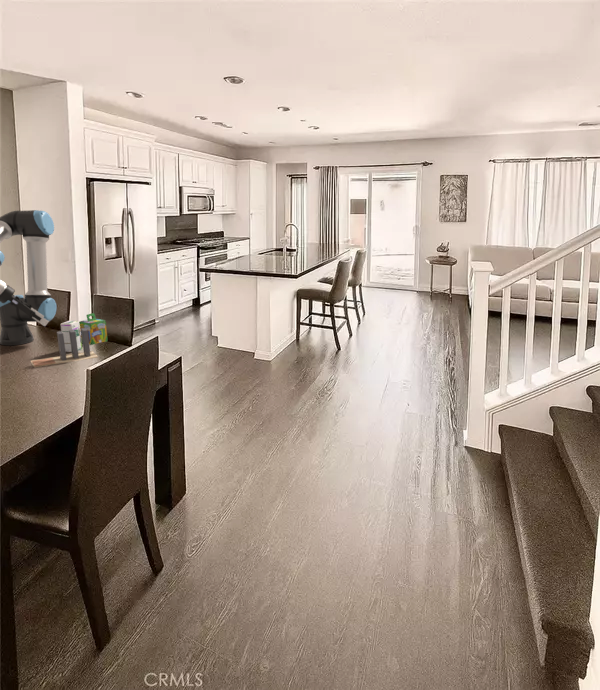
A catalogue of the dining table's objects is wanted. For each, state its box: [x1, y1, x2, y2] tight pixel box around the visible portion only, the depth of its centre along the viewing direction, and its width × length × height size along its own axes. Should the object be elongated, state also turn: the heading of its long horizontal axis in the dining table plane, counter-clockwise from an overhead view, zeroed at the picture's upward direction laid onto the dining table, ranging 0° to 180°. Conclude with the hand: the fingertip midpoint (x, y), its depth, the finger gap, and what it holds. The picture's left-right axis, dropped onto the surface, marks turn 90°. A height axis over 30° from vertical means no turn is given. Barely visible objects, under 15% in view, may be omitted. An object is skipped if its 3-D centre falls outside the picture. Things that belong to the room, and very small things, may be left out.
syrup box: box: [60, 320, 83, 353], centre depth 244 cm, size 6×6×14 cm
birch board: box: [30, 350, 99, 369], centre depth 233 cm, size 12×26×1 cm, turn 123°
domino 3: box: [80, 328, 91, 357], centre depth 236 cm, size 5×2×12 cm, turn 33°
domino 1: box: [56, 330, 67, 361], centre depth 231 cm, size 5×2×12 cm, turn 33°
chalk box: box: [78, 313, 108, 345], centre depth 260 cm, size 9×9×15 cm
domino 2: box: [69, 330, 79, 359], centre depth 233 cm, size 5×2×12 cm, turn 33°
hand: (44, 321), depth 236 cm, fingers open, 13 cm apart
